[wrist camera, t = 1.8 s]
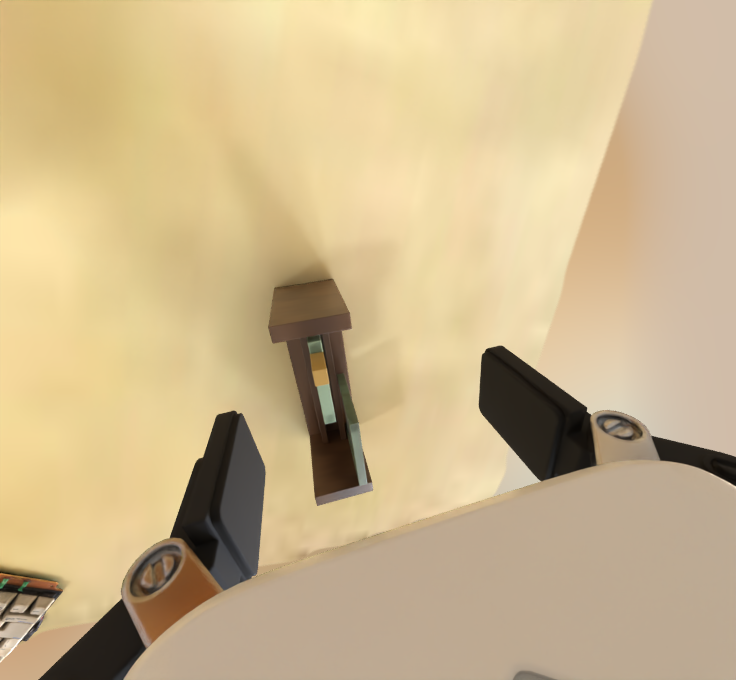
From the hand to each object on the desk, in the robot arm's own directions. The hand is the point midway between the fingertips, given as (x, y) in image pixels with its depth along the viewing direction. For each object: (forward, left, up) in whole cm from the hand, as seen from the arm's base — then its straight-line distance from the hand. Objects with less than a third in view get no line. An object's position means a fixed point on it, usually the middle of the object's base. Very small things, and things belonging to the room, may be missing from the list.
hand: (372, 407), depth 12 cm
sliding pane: (-2, -9, -25) cm, 27 cm away
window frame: (-2, -14, -27) cm, 31 cm away
